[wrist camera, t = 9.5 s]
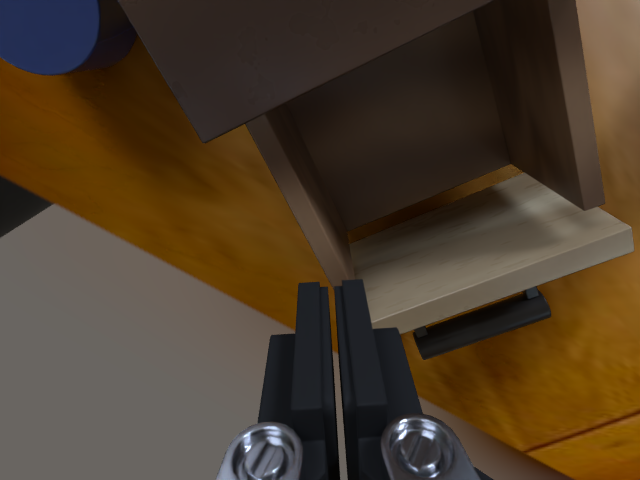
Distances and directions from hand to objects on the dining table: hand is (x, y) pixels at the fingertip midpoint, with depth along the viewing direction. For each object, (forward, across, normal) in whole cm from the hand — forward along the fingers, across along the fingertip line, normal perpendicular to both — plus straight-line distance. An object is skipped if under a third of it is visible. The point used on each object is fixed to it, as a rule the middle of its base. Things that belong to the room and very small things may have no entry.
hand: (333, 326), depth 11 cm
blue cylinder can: (+14, +11, -9) cm, 20 cm away
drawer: (+13, -5, -1) cm, 14 cm away
